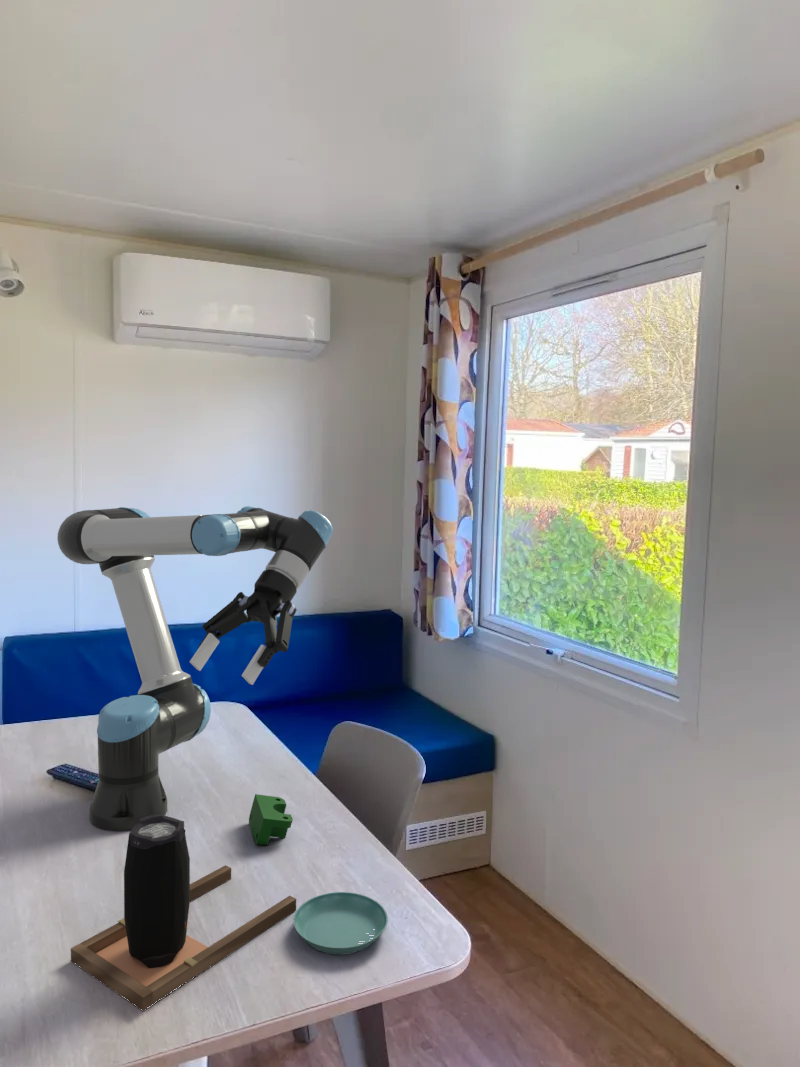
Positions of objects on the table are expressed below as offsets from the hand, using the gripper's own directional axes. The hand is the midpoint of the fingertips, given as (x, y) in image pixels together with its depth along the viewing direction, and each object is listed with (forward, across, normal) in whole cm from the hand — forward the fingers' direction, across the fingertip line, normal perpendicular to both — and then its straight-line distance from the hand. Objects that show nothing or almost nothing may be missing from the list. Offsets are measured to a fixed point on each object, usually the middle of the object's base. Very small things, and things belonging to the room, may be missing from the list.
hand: (220, 673), depth 137 cm
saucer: (+27, -30, -24) cm, 47 cm away
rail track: (+36, -12, -14) cm, 41 cm away
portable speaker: (+41, -12, -9) cm, 44 cm away
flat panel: (+41, -12, -9) cm, 44 cm away
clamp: (+15, +2, -36) cm, 39 cm away
